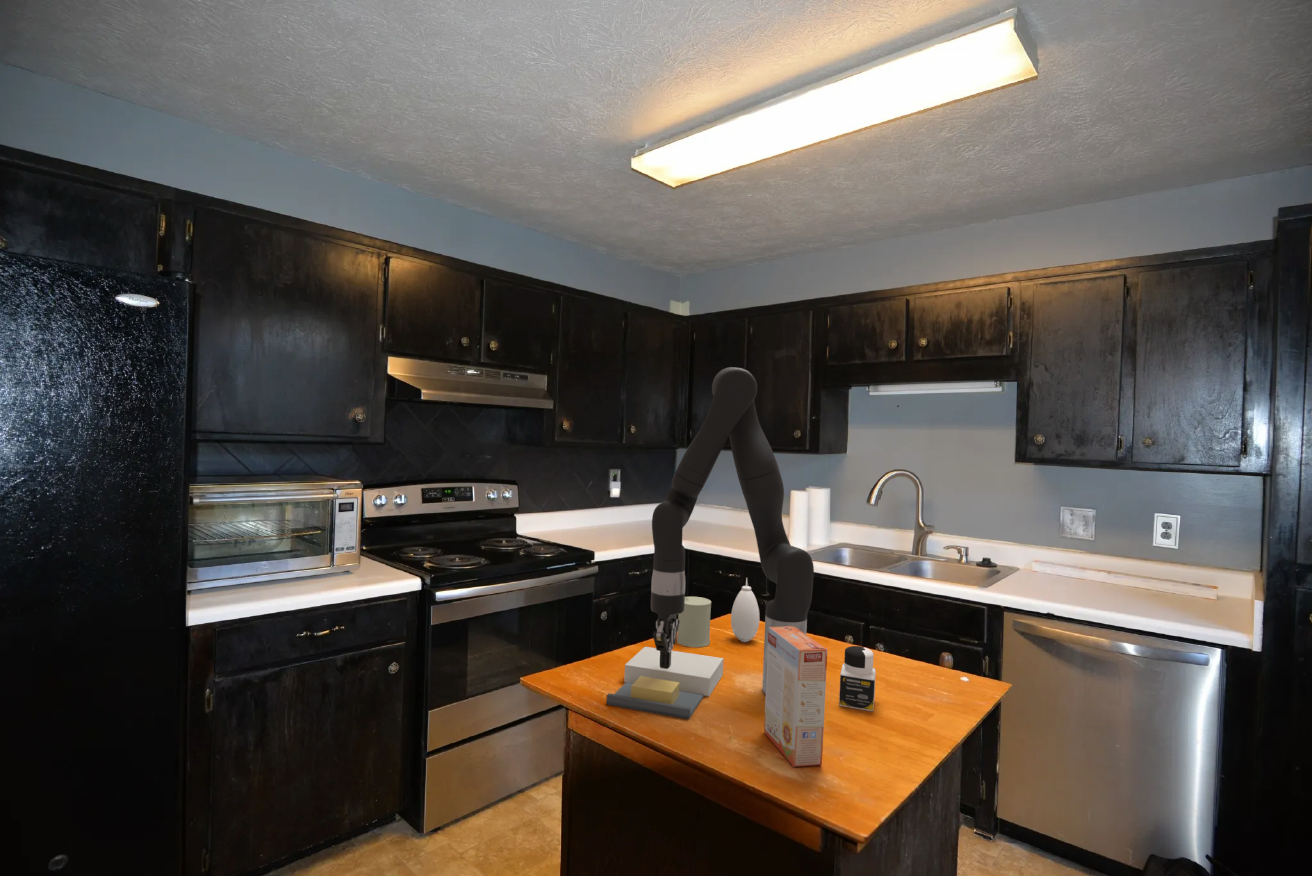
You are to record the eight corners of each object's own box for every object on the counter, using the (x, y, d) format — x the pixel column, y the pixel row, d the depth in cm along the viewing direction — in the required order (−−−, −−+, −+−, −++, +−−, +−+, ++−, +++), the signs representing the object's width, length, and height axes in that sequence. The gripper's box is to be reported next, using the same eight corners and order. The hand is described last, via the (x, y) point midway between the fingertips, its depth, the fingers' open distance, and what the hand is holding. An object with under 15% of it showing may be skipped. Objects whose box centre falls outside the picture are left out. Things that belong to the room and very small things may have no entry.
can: (678, 635, 186) (680, 593, 186) (710, 638, 185) (712, 596, 184) (674, 645, 177) (676, 601, 177) (708, 648, 175) (710, 604, 175)
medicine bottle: (838, 706, 141) (841, 651, 141) (841, 694, 148) (843, 641, 148) (873, 712, 138) (875, 656, 138) (874, 699, 145) (876, 646, 145)
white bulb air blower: (751, 647, 178) (754, 581, 178) (725, 641, 182) (728, 577, 182) (762, 640, 185) (765, 577, 184) (737, 635, 188) (739, 573, 188)
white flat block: (722, 674, 157) (723, 658, 157) (708, 696, 143) (709, 678, 143) (644, 662, 163) (645, 646, 163) (624, 682, 150) (624, 664, 150)
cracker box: (824, 766, 115) (829, 648, 114) (792, 769, 113) (797, 649, 113) (791, 730, 128) (795, 624, 128) (762, 732, 127) (767, 625, 127)
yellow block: (671, 692, 136) (671, 707, 136) (679, 682, 141) (679, 696, 141) (631, 685, 138) (630, 699, 138) (640, 676, 144) (640, 689, 144)
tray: (703, 697, 143) (703, 688, 143) (688, 719, 131) (689, 709, 131) (626, 684, 148) (627, 675, 148) (606, 704, 137) (606, 695, 137)
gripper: (676, 598, 137) (672, 680, 137) (692, 585, 150) (689, 660, 150) (642, 594, 140) (639, 675, 140) (660, 581, 152) (658, 655, 152)
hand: (665, 667), depth 145 cm, fingers closed
